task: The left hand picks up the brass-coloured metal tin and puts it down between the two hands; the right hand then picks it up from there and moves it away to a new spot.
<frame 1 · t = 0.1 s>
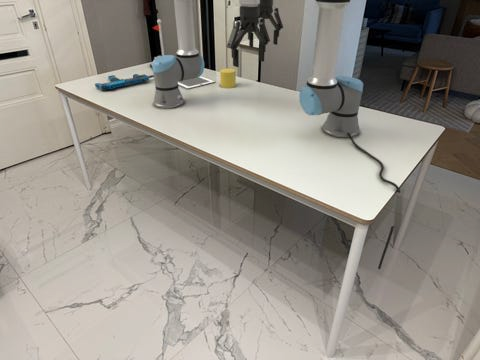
left hand: (248, 63, 138), 28 cm above the table, tool pointing down, fingers open, 13 cm apart
right hand: (263, 45, 167), 28 cm above the table, tool pointing down, fingers open, 13 cm apart
tablet: (187, 79, 214), on the table
tin: (228, 85, 204), on the table
submachine gun: (124, 82, 209), on the table
flag stand: (164, 65, 243), on the table
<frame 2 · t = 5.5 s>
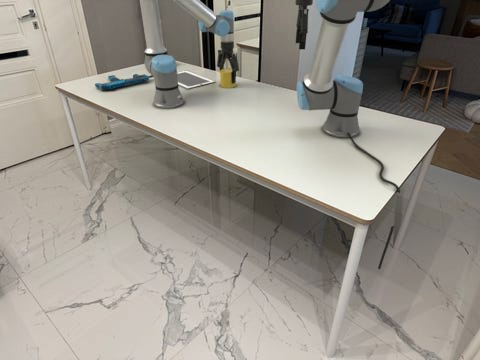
left hand: (228, 81, 202), 3 cm above the table, tool pointing down, fingers closed on tin, 9 cm apart
right hand: (300, 46, 160), 29 cm above the table, tool pointing down, fingers open, 13 cm apart
tin: (228, 85, 204), on the table, touching left hand
everything else where it was.
when the left hand's fingers open (4 cm above the table, at t = 14.0 s): tin drops 2 cm, on the table.
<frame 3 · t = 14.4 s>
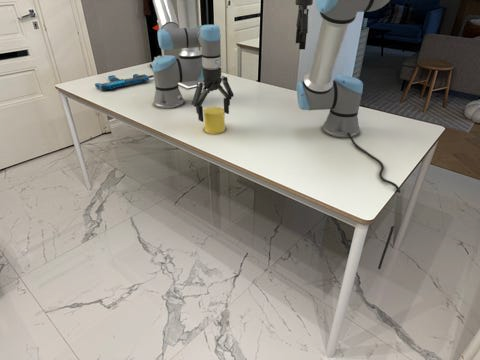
left hand: (214, 116, 148), 6 cm above the table, tool pointing down, fingers open, 13 cm apart
right hand: (300, 46, 160), 29 cm above the table, tool pointing down, fingers open, 13 cm apart
tin: (214, 129, 151), on the table
everything else where it was.
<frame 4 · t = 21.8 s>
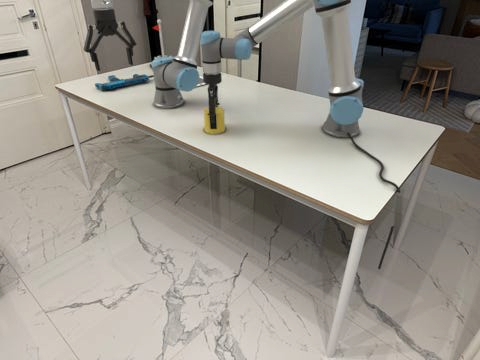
left hand: (115, 67, 137), 27 cm above the table, tool pointing down, fingers open, 13 cm apart
right hand: (214, 124, 150), 3 cm above the table, tool pointing down, fingers closed on tin, 9 cm apart
tin: (214, 129, 151), on the table, touching right hand
everything else where it was.
when the right hand's fingers open (4 cm above the table, at t = 29.7 s): tin drops 2 cm, on the table.
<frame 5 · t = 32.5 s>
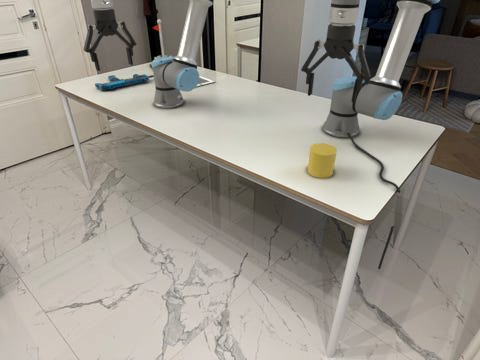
left hand: (115, 67, 137), 27 cm above the table, tool pointing down, fingers open, 13 cm apart
right hand: (331, 97, 106), 27 cm above the table, tool pointing down, fingers open, 13 cm apart
tin: (320, 171, 121), on the table
everything else where it was.
at the end: tin inside the target area (0.0 cm from its centre), on the table; tin tilted 0°; the two hands never held the tin at the same time; the left hand is holding nothing; the right hand is holding nothing; tin at rest at the end (0.0 cm/s) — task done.
